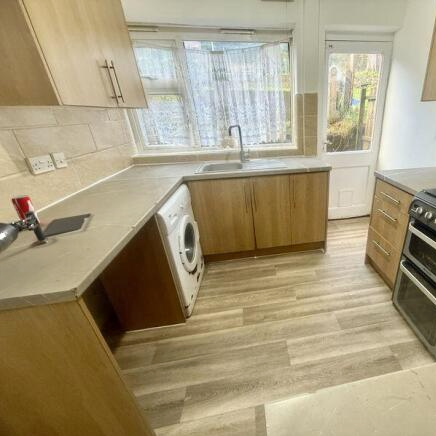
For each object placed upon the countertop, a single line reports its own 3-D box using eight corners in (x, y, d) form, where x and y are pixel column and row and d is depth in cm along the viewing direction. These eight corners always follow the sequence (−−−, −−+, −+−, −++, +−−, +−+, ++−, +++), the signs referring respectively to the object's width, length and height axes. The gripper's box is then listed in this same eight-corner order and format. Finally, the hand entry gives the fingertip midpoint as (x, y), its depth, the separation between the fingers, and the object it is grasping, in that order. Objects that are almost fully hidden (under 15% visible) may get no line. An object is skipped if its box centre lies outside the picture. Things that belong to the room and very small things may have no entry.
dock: (29, 248, 96) (28, 247, 95) (35, 241, 101) (34, 240, 101) (52, 244, 99) (51, 243, 98) (57, 237, 104) (56, 236, 104)
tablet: (39, 239, 103) (38, 237, 102) (54, 221, 120) (53, 219, 120) (83, 230, 109) (83, 228, 109) (91, 214, 127) (90, 213, 127)
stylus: (38, 243, 98) (23, 214, 93) (40, 241, 100) (25, 212, 95) (46, 242, 99) (31, 212, 94) (48, 239, 101) (34, 210, 96)
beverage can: (22, 228, 114) (4, 198, 107) (39, 222, 119) (23, 193, 113) (29, 230, 111) (11, 199, 105) (46, 224, 117) (30, 194, 110)
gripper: (20, 222, 74) (38, 206, 87) (-49, 234, 68) (-19, 214, 81) (32, 244, 77) (47, 225, 90) (-34, 256, 71) (-8, 234, 84)
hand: (16, 220), depth 85 cm, fingers open, 8 cm apart
